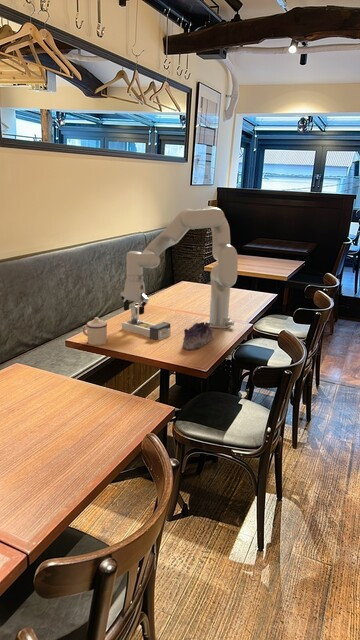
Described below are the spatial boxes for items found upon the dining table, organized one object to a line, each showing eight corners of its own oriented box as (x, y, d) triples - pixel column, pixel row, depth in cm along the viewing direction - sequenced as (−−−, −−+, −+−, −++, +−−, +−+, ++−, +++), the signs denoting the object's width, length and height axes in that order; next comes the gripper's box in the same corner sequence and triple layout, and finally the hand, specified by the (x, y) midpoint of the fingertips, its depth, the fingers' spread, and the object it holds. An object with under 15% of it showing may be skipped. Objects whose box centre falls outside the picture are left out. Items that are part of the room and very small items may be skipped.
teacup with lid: (111, 340, 207) (110, 316, 203) (101, 347, 199) (100, 322, 195) (88, 336, 211) (87, 313, 207) (77, 343, 203) (76, 318, 199)
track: (171, 334, 216) (172, 324, 215) (158, 340, 208) (158, 329, 207) (134, 324, 230) (134, 314, 228) (120, 329, 222) (119, 318, 220)
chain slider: (148, 327, 220) (149, 307, 217) (142, 329, 217) (142, 310, 214) (133, 323, 226) (133, 304, 223) (127, 325, 222) (126, 306, 219)
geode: (201, 353, 195) (199, 331, 192) (177, 352, 200) (174, 330, 198) (217, 337, 213) (216, 317, 210) (195, 336, 218) (193, 316, 215)
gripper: (153, 279, 213) (152, 314, 218) (126, 273, 223) (126, 307, 228) (143, 281, 207) (142, 317, 212) (115, 275, 217) (115, 310, 222)
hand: (133, 312), depth 220 cm, fingers open, 9 cm apart
